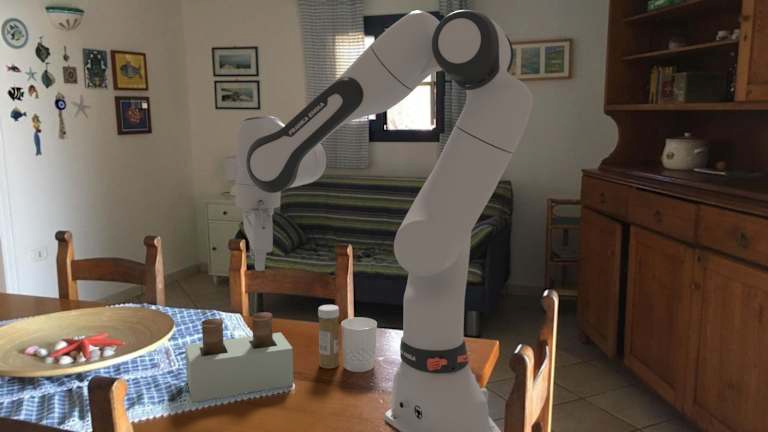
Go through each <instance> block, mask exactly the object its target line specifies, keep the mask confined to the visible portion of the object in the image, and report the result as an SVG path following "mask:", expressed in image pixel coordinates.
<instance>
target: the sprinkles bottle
mask: <svg viewBox="0 0 768 432" xmlns="http://www.w3.org/2000/svg"><path fill="white" fill-rule="evenodd" d="M317 309H318V310H317V315H318V327H319V328H318V352H319V361H318V365H319V367H321V368H323V369H334V368H338V367H339V365H340V361H339V356H340V352H339V351H340V343H339V333H340V332H339V316H340V308H339V306H338V305H335V304H323V305H320V306H319V307H318V308H317Z"/></svg>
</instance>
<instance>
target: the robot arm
mask: <svg viewBox="0 0 768 432" xmlns="http://www.w3.org/2000/svg"><path fill="white" fill-rule="evenodd" d="M513 61H514V48H513V44H512V42H511V40H510V38H509V36H507V35H506V33H505V31H504V30H503V29H502V28H501V26H500V25H499V24H498V23H497V22H496V21H494V20H493V19H491V18H489V17H488V16H487V15H486V14H484V13H482V12H480V11H478V10H472V9H461V10H456V11H453V12H451V13H449V14H447V15H446V16H445V17H443V19H441V20H438V18H436V16H434V15H433V14H431V13H429V12H427V11H424V10H414V11H411V12H409V13H407V14H405V15H404V16H403V17H401V18H400V19H399V20H398V21H396V22H395V23H393V24H392V25H391V26H389V27H388V28H387V29H386V30H385V31H384V32H382V34H380V35H379V36H378V37H377V38H376V39H374V41H373V42H371V44H370V45H369V46H368V47H367V48H366V49H365V50H364V51H363V52H362V53H361V54H360V55H359V57H357V58H356V60H354V61H353V63H352V64H351V65H349V66H348V67H347V69H346V70H344V72H343V73H341V75H340V76H338V77H337V78H336V79H335V80H334V81H333V82H332V83H331V84H330V85H329V86H328V87H327V88H326V89H324V90H323V91H322V92H321V93H319V94H318V95H317V96H316V97H315V98H314V99H312V101H310V102H309V103H308V104H307V105H306V106H305V107H304V108H303V109H302V110H300V112H299V113H297V114H296V115H295V116H294V117H293V118H292V119H290V120H289V121H288V122H287V123H286V124H284V122H282V121H281V119H280V118H278V117H277V116H273V115H263V116H261V115H259V116H253V117H247V118H245V119H244V120H242V121H241V122H240V124H239V127H238V130H237V137H236V147H235V148H236V150H235V162H236V165H237V174H236V178H235V206H236V207H239V208H241V213H242V222H243V223H242V224H243V231H244V232H245V235H246V237H247V238H246V239H248V242H249V243H248V245H249V256H250V259H252V260H254V268H255V270H256V271H257V272H263V271H265V267H266V266H265V265H266V259H267V253H271V252H272V251H273V245H274V244H273V242H274V236H273V235H274V233H273V231H274V230H273V225H274V224H273V215H274V213H275V211H274V209H276V208H280V207H281V192H282V191H285V190H287V189H289V188H295V187H300V186H303V185H308V184H312V183H314V182H316V181H317V180H319V179H320V178H322V176H323V175H324V173H325V171H326V169H327V166H328V165H327V164H328V156H327V152H326V149H325V148H324V146H323V144H322V142H324V141H325V140H326V139H327V138H328V137H329V136H331V134H333V133H334V132H335V131H336V130H337V129H339V128H341V127H342V126H343V125H345V124H348V123H351V122H352V121H355V120H358V119H362V118H365V117H369V116H374V115H377V114H378V115H379V114H382V113H384V112H387V111H388V110H390V109H392V108H394V107H395V106H396V105H398V104H399V103H401V102H403V100H404V99H405V98H407V97H408V96H409V95H410V94H411V93H412V92H413V91H414V90H415V89H416V88H417V87H418V86H420V85H421V83H422V82H424V81H425V80H426V79H427V78H428V77H429V76H431V75H432V74H435V73H437V72H441V71H443V73H445V74H446V76H448V77H449V78H450V79H451V80H452V81H453V82H454V83H455V84H456V85H457V86H458V87H459V88H460V89H461V90H464V91H465V93H466V98H465V99H466V100H465V103H464V105H463V108H462V111H461V113H460V115H459V117H458V119H457V121H456V123H455V124H454V127H453V128H452V129H453V130H452V131H451V133H450V135H449V137H448V140H447V141H446V143H445V146H444V147H443V149H442V152H441V153H440V156H439V158H438V160H437V162H436V164H435V165H434V168H433V169H432V171H431V173H430V174H429V176H428V178H427V179H426V181H425V182H424V183H423V186H422V187H421V189H420V190H419V192H418V194H417V196H416V197H415V199H414V200H413V203H412V204H411V207H410V208H409V210H408V212H407V213H406V215H405V217H404V219H403V221H402V223H401V225H400V226H399V228H398V229H397V232H396V235H395V238H394V242H393V251H394V256H395V258H396V260H397V263H398V264H399V265H400V266H401V268H403V269H404V270H405V271H406V272H408V277H407V282H406V283H407V284H406V286H405V291H404V295H403V315H402V316H403V322H402V323H403V325H402V326H403V329H402V337H401V338H400V346H399V351H400V352H399V353H400V356H399V357H400V359H401V362H400V364H399V367H398V368H397V370H396V371H395V374H394V375H393V381H392V382H393V384H392V391H391V392H392V394H391V403H390V404H391V405H390V409H388V410H387V411H386V412H385V414H384V421H386V422H387V423H388V424H390V425H391V426H392V427H393V428H395V429H397V430H398V431H399V432H502V431H501V430H500V428H499V427H498V426H497V424H496V423H495V422H494V420H493V419H492V418H491V417H490V416H489V414H490V413H489V412H490V411H489V404H488V401H489V391H488V390H487V388H485V387H482V388H481V387H480V385H479V383H478V382H477V377H476V375H475V374H474V373H473V372H472V371H471V369H470V366H469V361H471V359H469V357H471V355H470V354H468V348H467V345H466V340H465V339H464V327H465V326H464V324H465V319H464V318H465V301H466V299H465V298H466V290H467V289H466V288H467V281H468V274H469V271H468V270H469V264H470V263H469V262H470V255H471V254H470V253H471V242H472V241H471V239H472V230H473V229H474V228H475V225H476V223H477V222H478V219H479V218H480V217H481V215H482V213H483V211H484V209H485V208H486V206H487V205H488V202H490V201H489V200H490V199H491V197H492V195H493V194H494V192H495V190H496V188H497V186H498V184H499V182H500V180H501V178H502V176H503V175H504V172H505V170H506V169H507V167H508V165H509V163H510V161H511V160H512V157H513V155H514V153H515V151H516V150H517V147H518V145H519V143H520V141H521V139H522V136H523V135H524V132H525V130H526V127H527V125H528V120H529V117H530V115H531V111H532V107H533V102H534V101H533V100H534V99H533V95H532V92H531V90H530V89H529V88H528V86H527V85H526V84H525V82H523V81H521V80H520V79H518V78H516V77H514V76H513V75H511V74H510V71H511V68H512V67H513Z"/></svg>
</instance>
